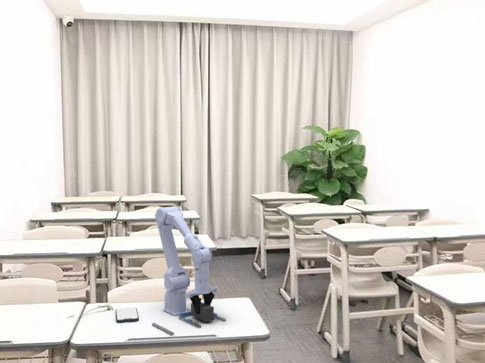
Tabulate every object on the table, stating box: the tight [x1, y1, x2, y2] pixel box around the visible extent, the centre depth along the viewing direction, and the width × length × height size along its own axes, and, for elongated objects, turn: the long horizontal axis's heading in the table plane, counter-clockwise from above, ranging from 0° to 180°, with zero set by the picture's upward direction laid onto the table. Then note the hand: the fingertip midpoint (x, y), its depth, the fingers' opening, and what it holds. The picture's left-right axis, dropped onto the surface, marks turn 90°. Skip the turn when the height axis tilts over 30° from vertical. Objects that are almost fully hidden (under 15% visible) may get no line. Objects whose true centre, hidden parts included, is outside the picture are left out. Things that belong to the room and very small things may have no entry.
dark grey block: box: [190, 301, 215, 323], centre depth 198 cm, size 10×4×5 cm, turn 40°
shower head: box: [82, 303, 114, 316], centre depth 206 cm, size 5×3×20 cm
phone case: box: [115, 307, 140, 324], centre depth 202 cm, size 9×2×16 cm
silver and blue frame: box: [151, 310, 227, 337], centre depth 194 cm, size 15×25×2 cm, turn 130°
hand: (202, 312), depth 198 cm, fingers closed on dark grey block, 4 cm apart
